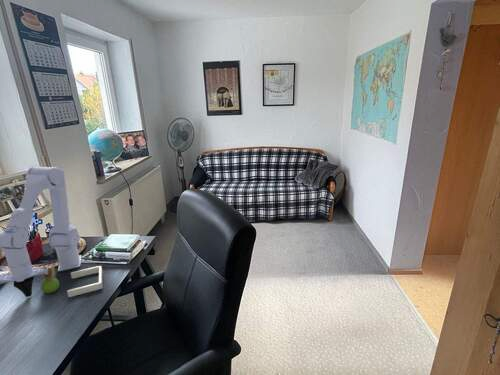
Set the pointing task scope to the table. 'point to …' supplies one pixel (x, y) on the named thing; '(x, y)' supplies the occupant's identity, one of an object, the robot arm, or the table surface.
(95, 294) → the table surface
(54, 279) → the snail figurine
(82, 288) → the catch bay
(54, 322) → the table surface
